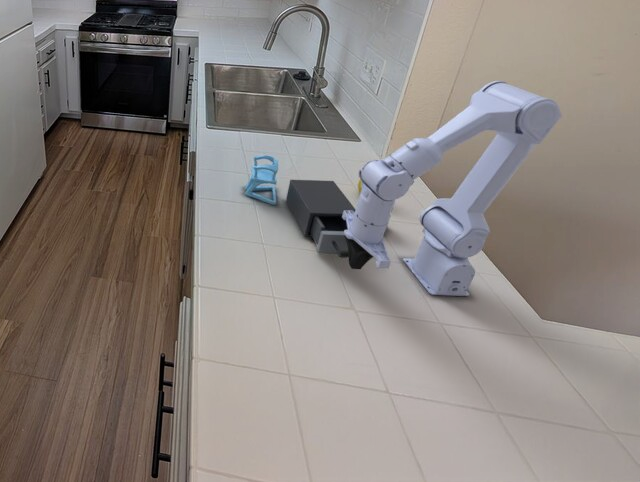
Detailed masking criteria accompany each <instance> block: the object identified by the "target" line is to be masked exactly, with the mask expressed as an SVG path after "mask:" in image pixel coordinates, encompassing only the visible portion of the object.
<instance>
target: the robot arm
mask: <svg viewBox="0 0 640 482" xmlns="http://www.w3.org/2000/svg"><path fill="white" fill-rule="evenodd" d="M562 117H563V115H562V113H561V110H560V106H559V104H558V102H557V101H555V100H554V99H552V98H549V97H543V96H541V95H538V94H536V93H533V92H530V91H528V90H526V89H522V88H520V87H517V86H515V85H512V84H509V83H508V82H506V81H504V80H494V81H490V82H488V83H486V84H485V85H483V86H482V87H481V88H480V89H479V90H477V91H476V92H474V93H473V94H472V95H471V97H470V100H469V105H468V106H467V107H466V108H464V109H463V110H462V111H460V112H459V113H458V114H457V115H455V117H452V118H451V119H450V120H449V121H447V122H446V123H445V124H443V125H442V126H441V127H440V128H439V129H437V130H436V131H434V132H433V133H432V134H431V135H429V136H428V137H414V138H413V139H411V140H410V141H408V142H407V143H405V144H403V145H402V146H400V147H399V148H398V149H396V150H395V151H393V152H392V153H390V154H389V155H387V156H386V157H384V158H382V159H372V160H370V161H367V162H366V163H365V164H364V165H363V166H362V168H361V169H358V178H359V180H360V179H361V186H360V187H361V188H362V190H361V193H360V192H359V196H358V200H357V203H356V206H355V209H356V210H355V213H354V212H353V211H346V210H344V212H343V215H342V218H343V219H344V220H346V222H347V228H348V230H344V234H345V236H344V237H345V239H346V242H347V246H348V258H347V259H348V266H349V267H350V269H352V270H362V269H363V267H364V266H365V265H366V264H367V263H368V262H369V261H370V260H371V259H374V260H375V261H376V262H375V266H376V267H377V268H378V269H383V270H384V269H390V266H391V263H392V260H391V259H390V257H389V255H388V251H387V248H386V245H385V242H384V241H385V240H384V238H383V237H384V234H385V232H386V231H385V229H386V226H387V223H388V220H389V217H390V215H391V214H392V210H393V208H394V205H395V203H396V200H399V199H400V198H402V197H404V196H406V194H407V193H408V192H409V190H410V188H411V187H412V186H413V185H414V183H415V180H416V179H418V178H420V177H421V176H423V175H424V174H426V173H427V172H429V171H430V170H432V169H433V168H435V167H436V166H438V165H439V164H441V163H442V161H443V154H444V153H446V152H447V151H450V150H451V149H453V148H455V147H457V146H459V145H461V144H462V143H465V142H466V141H468V140H470V139H472V138H473V137H476V136H477V135H479V134H481V133H483V132H485V131H494V132H496V135H495V136H494V138H493V139H492V141H491V142H490V143H489V145H488V146H487V147H486V149H485V150H484V152H483V153H482V155H481V156H480V158H478V160H477V162H476V163H475V165H474V166H473V168H472V169H471V170H470V171H469V173H468V174H467V176H466V177H465V178H464V179H463V181H462V183H461V184H460V185H459V187H458V188H457V189H456V191H455V192H454V194H453V195H452V196H451V198H446V197H444V198H436V199H435V200H434V201H433V203H432V204H431V205H430V206H429V207H426V208H425V209H424V210H423V211H422V212H421V214H420V216H419V223H420V225H421V226H422V227H423V228H422V232H423V237H422V239H421V242H420V244H419V247H418V250H417V251H416V254H415V256H414V258H412V257H411V258H410V257H404V258H402V261H403V263H404V264H405V265H406V266H407V267H408V269H409V270H410V271H411V273H413V275H414V276H415V278H416V279H417V280H418V281H419V283H420V284H421V285H422V286H423V288H425V290H426V291H427V292H428V293H429V294H430V295H431V296H432V295H433V296H456V297H457V296H458V297H469V296H470V293H469V292H468V291H469V288H470V285H471V284H472V282H473V279H474V278H475V275H476V270H475V268H474V266H473V265H472V264H471V262H470V261H469V258H472V257H474V256H476V255H478V254H479V253H480V252H481V251H482V250H483V248H484V246H485V244H486V243H485V242H486V239H487V237H488V236H489V235H490V233H491V230H490V226H489V225H488V222H487V220H486V218H485V215H484V214H485V212H486V211H487V210H488V208H490V206H491V205H492V203H493V202H494V201H495V199H496V198H497V197H498V195H499V194H500V193H501V191H503V189H504V188H505V187H506V185H507V184H508V183H509V181H510V180H511V179H512V177H513V176H514V175H515V173H516V172H517V171H518V170H519V168H520V167H521V165H522V164H523V163H524V162H525V160H526V159H527V157H528V156H529V155H530V154H531V153H532V151H533V150H534V149H535V147H537V145H540V144H542V142H543V141H544V140H545V139H546V137H547V136H548V135H549V133H550V132H551V131H552V129H553V128H554V127H555V125H556V124H557V123H558V122H559V120H561V118H562ZM390 218H391V217H390ZM389 221H390V220H389ZM388 224H389V223H388ZM387 227H388V226H387ZM386 230H387V229H386Z"/></svg>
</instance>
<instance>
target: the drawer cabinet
mask: <svg viewBox="0 0 640 482" xmlns="http://www.w3.org/2000/svg"><path fill="white" fill-rule="evenodd" d="M285 204H286V206H287V207H288V209H289V211H290V213H291V215H292V217H293V219H294V221H295V222H296V224H297V226H298V228H299V230H300V232H301V234H302V236H303V237H304V238H310V239H311V238H312V239H313V237H312V235H311V233H310V232H309V230H310V226H311V222H312V218H313V215H314V216H342V215H343V212H344V210H346V211H353V212H354V213H355V210H356V207H354V205H353V204H352V203H351V201H350V200H349V199H348V197H347V196H346V195H345V193H344V192H343V191H342V190H341V189H340V187H339V186H338V185H337V184H336V182H335V181H334V180H317V179H316V180H314V179H311V180H310V179H290V180H289V184H288V188H287V193H286V199H285Z"/></svg>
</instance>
